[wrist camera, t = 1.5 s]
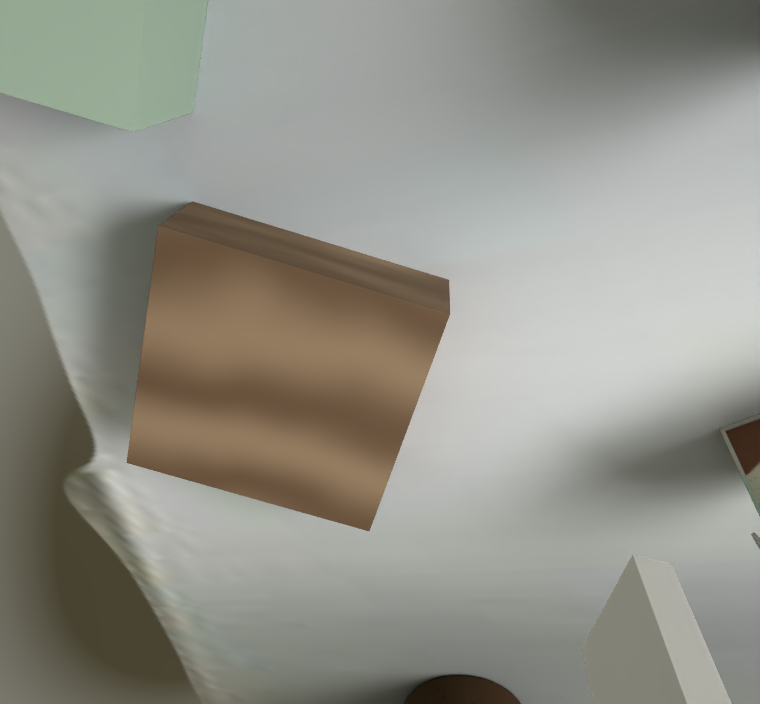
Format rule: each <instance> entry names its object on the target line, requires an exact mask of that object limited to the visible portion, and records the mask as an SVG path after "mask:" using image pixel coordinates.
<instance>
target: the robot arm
mask: <svg viewBox="0 0 760 704" xmlns="http://www.w3.org/2000/svg"><path fill="white" fill-rule="evenodd" d="M581 651H582V655H583V660H584V664H585V669H586V673H587V678H588V682H589V687H590V691H591V696H592V700H593V704H731V701H730V699H729V697H728V694H727V692H726V690H725V687H724V685H723V683H722V680H721V678H720V676H719V673H718V671H717V669H716V666H715V664H714V662H713V659H712V657H711V655H710V652H709V650H708V648H707V645H706V643H705V641H704V638H703V636H702V634H701V631H700V629H699V627H698V624H697V622H696V620H695V617H694V615H693V613H692V610H691V608H690V606H689V603H688V601H687V599H686V596H685V594H684V592H683V590H682V587H681V585H680V583H679V580H678V578H677V576H676V573H675V571H674V569H673V566H672V564H671V563H667V562H663V561H659V560H654V559H650V558H646V557H642V556H637V555H632V557H631V559H630V560H629V562H628V564H627V566H626V568H625V570H624V572H623V573H622V575H621V577H620V579H619V581H618V583H617V584H616V586H615V588H614V590H613V592H612V594H611V595H610V597H609V599H608V601H607V603H606V605H605V607H604V608H603V610H602V612H601V614H600V616H599V618H598V619H597V621H596V623H595V625H594V627H593V629H592V631H591V632H590V634H589V636H588V638H587V640H586V642H585V643H584V645H583V647H582V649H581Z"/></svg>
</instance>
